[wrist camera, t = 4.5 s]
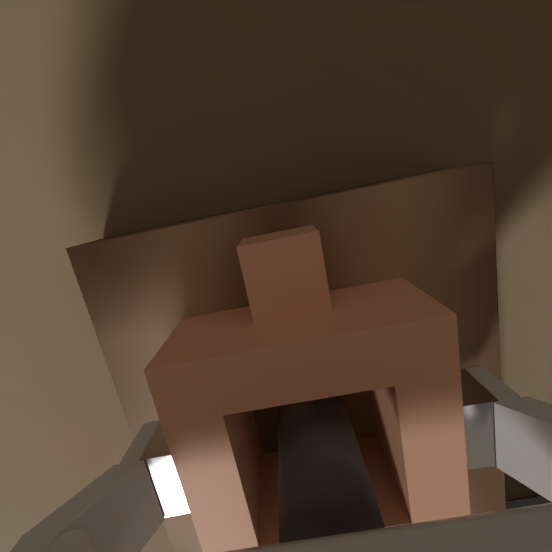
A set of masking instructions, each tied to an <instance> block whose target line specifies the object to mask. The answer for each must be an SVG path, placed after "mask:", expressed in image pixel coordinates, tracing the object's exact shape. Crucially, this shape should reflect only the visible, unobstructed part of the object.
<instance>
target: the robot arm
mask: <svg viewBox="0 0 552 552" xmlns="http://www.w3.org/2000/svg"><path fill="white" fill-rule="evenodd" d="M460 371H461V385H462V400H463V414H464V428H465V442H466V456H467V469H475V468H482V467H490V466H497V468H498V469H500V470H501V471H503V472H505V473H506V474H508V475H509V476H511V477H513V478H514V479H516V480H517V481H519V482H520V483H522V484H524V485H525V486H527V487H528V488H530V489H532V490H533V491H535V492H536V493H538V494H539V495H541V496H543V497H544V498H546V499H547V500H549V501H551V502H552V404H549V403H546V402H543V401H540V400H537V399H534V398H530V397H520V396H519V395H518V394H517V393H515V392H514V391H513V390H512V389H511V388H509V387H508V386H507V385H506V384H505V383H503V382H502V381H501V380H500V379H498V378H497V377H496V376H495V375H494V374H492V373H491V372H490V371H489V370H488V369H486V368H485V367H484V366H482V365H475V366H471V367H466V368H461V369H460ZM186 513H190V511H189V508H188V505H187V502H186V499H185V496H184V493H183V490H182V487H181V484H180V481H179V478H178V475H177V472H176V469H175V466H174V462H173V459H172V456H171V453H170V450H169V447H168V444H167V441H166V438H165V435H164V432H163V429H162V426H161V423H160V420H156V421H151V422H146V423H144V424H143V425H142V427H141V428H140V430H139V432H138V434H137V435H136V437H135V439H134V440H133V442H132V444H131V445H130V447H129V449H128V451H127V452H126V454H125V456H124V457H123V459H122V461H121V462H120V464H118V465H114V466H112V467H111V468H110V469H108V470H107V471H106V472H105V473H103V474H102V475H101V476H99V477H98V478H97V479H96V480H94V481H93V482H92V483H90V484H89V485H88V486H86V487H85V488H84V489H83V490H81V491H80V492H79V493H77V494H76V495H75V496H74V497H72V498H71V499H70V500H68V501H67V502H66V503H64V504H63V505H62V506H61V507H59V508H58V509H57V510H55V511H54V512H53V513H52V514H50V515H49V516H48V517H46V518H45V519H44V520H42V521H41V522H40V523H39V524H37V525H36V526H35V527H33V528H32V529H31V530H30V531H28V532H27V533H26V534H24V535H23V536H22V537H21V538H20V540H19V541H18V542H17V544H16V545H15V546H14V548H13V549H12V550H11V552H140V551H141V549H142V548H143V547H144V545H145V544H146V543H147V542H148V540H149V539H150V538H151V537H152V535H153V534H154V533H155V531H156V530H157V529H158V528H159V526H160V525H161V524H162V522H163V521H164V520H165V517H170V516H176V515H181V514H186ZM224 552H552V503H546V504H539V505H532V506H526V507H519V508H512V509H506V510H499V511H492V512H486V513H479V514H472V515H466V516H459V517H452V518H446V519H439V520H432V521H426V522H419V523H412V524H406V525H399V526H392V527H385V528H378V529H372V530H365V531H358V532H351V533H345V534H338V535H331V536H324V537H318V538H311V539H304V540H297V541H291V542H284V543H277V544H270V545H264V546H257V547H250V548H244V549H237V550H231V551H224Z"/></svg>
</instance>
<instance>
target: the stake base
mask: <svg viewBox="0 0 552 552" xmlns="http://www.w3.org/2000/svg"><path fill="white" fill-rule="evenodd" d="M309 225H313V226H314V227H316V228H317V229H318V230H319V233H320V239H321V245H322V251H323V257H324V263H325V269H326V275H327V281H328V287H329V291H332V290H337V289H343V288H348V287H353V286H359V285H364V284H369V283H375V282H380V281H385V280H391V279H396V278H401V277H402V278H404V279H405V280H407V281H408V282H410V283H411V284H413V285H414V286H416V287H417V288H419V289H420V290H422V291H423V292H425V293H426V294H428V295H429V296H431V297H432V298H434V299H435V300H437V301H438V302H440V303H441V304H443V305H444V306H445V307H447V308H448V309H450V310H451V311H453V312H454V313H456V315H457V329H458V343H459V357H460V369H461V368H466V367H471V366H475V365H482V366H484V367H485V368H486V369H488V370H489V371H490V372H491V373H492V374H494V375H495V376H496V377H497V378H498V379H500V380H501V371H500V344H499V318H498V292H497V266H496V240H495V213H494V187H493V162H489V163H482V164H475V165H468V166H461V167H455V168H449V169H444V170H440V171H435V172H430V173H425V174H420V175H415V176H410V177H405V178H400V179H395V180H390V181H385V182H380V183H375V184H371V185H366V186H361V187H356V188H351V189H346V190H341V191H336V192H331V193H326V194H321V195H316V196H311V197H306V198H302V199H297V200H292V201H287V202H282V203H277V204H272V205H267V206H262V207H257V208H252V209H247V210H242V211H237V212H232V213H228V214H223V215H218V216H213V217H208V218H203V219H198V220H193V221H188V222H183V223H178V224H173V225H168V226H163V227H159V228H154V229H149V230H144V231H139V232H134V233H129V234H124V235H119V236H114V237H109V238H104V239H100V240H96V241H92V242H89V243H85V244H81V245H77V246H73V247H69V248H66V250H67V253H68V255H69V258H70V261H71V264H72V267H73V270H74V272H75V275H76V278H77V281H78V284H79V286H80V289H81V292H82V295H83V298H84V301H85V303H86V306H87V309H88V312H89V315H90V317H91V320H92V323H93V326H94V329H95V331H96V334H97V337H98V340H99V343H100V346H101V348H102V351H103V354H104V357H105V360H106V362H107V365H108V368H109V371H110V374H111V377H112V379H113V382H114V385H115V388H116V391H117V393H118V396H119V399H120V402H121V405H122V407H123V410H124V413H125V416H126V419H127V422H128V424H129V427H130V430H131V433H132V436H133V438H134V439H135V437H136V435H137V434H138V432H139V430H140V428H141V427H142V425H143V424H144V423H146V422H151V421H156V420H159V417H158V414H157V411H156V408H155V404H154V401H153V398H152V395H151V392H150V389H149V386H148V383H147V380H146V377H145V374H144V371H143V370H144V369H145V368H146V366H147V365H148V364H149V362H150V361H151V360H152V358H153V357H154V356H155V354H156V353H157V352H158V350H159V349H160V348H161V346H162V345H163V344H164V342H165V341H166V340H167V338H168V337H169V336H170V334H171V333H172V332H173V330H174V329H175V328H176V327H177V325H178V324H179V323H180V321H181V320H182V319H183V318H188V317H194V316H199V315H204V314H210V313H215V312H220V311H226V310H231V309H236V308H242V307H247V306H250V305H249V300H248V296H247V291H246V287H245V283H244V278H243V274H242V270H241V265H240V261H239V257H238V252H237V248H236V247H237V245H238V244H239V243H240V241H241V240H242V239H243V238H248V237H253V236H258V235H263V234H268V233H274V232H279V231H284V230H289V229H294V228H299V227H304V226H309ZM253 414H254V418H255V422H256V426H257V430H258V434H259V438H260V442H261V446H262V450H263V454H265V453H271V452H277V451H278V483H279V543H284V542H291V541H297V540H304V539H311V538H318V537H324V536H331V535H338V534H345V533H351V532H358V531H365V530H372V529H378V528H385V526H384V522H383V519H382V516H381V513H380V510H379V506H378V503H377V500H376V497H375V494H374V491H373V488H372V485H371V482H370V479H369V476H368V473H367V469H366V466H365V463H364V460H363V457H362V454H361V451H360V448H359V445H358V442H357V439H356V438H363V437H369V436H375V435H376V431H375V424H374V417H373V410H372V403H371V397H370V390H369V391H363V392H357V393H352V394H346V395H340V396H334V397H328V398H322V399H317V400H311V401H305V402H299V403H293V404H287V405H282V406H276V407H270V408H264V409H258V410H253ZM467 470H468V485H469V499H470V513H471V515H472V514H479V513H486V512H492V511H499V510H506V502H505V476H504V472H503V471H501V470H500V469H498V468H497V466H490V467H482V468H475V469H467ZM163 523H164V526H165V529H166V531H167V534H168V537H169V540H170V543H171V545H172V548H173V551H174V552H203V551H202V548H201V545H200V542H199V539H198V536H197V533H196V530H195V527H194V524H193V520H192V517H191V514H190V513H186V514H181V515H176V516H170V517H165V520H164V521H163Z"/></svg>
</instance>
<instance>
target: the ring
mask: <svg viewBox="0 0 552 552" xmlns="http://www.w3.org/2000/svg"><path fill="white" fill-rule="evenodd" d="M236 248H237V252H238V257H239V261H240V265H241V270H242V274H243V278H244V283H245V287H246V291H247V296H248V300H249V305H250V306H247V307H242V308H236V309H231V310H226V311H220V312H215V313H210V314H204V315H199V316H194V317H188V318H183V319H182V320H181V321H180V323H179V324H178V325H177V327H176V328H175V329H174V330H173V332H172V333H171V334H170V336H169V337H168V338H167V340H166V341H165V342H164V344H163V345H162V346H161V348H160V349H159V350H158V352H157V353H156V354H155V356H154V357H153V358H152V360H151V361H150V362H149V364H148V365H147V366H146V368H145V369H144V370H143V371H144V374H145V377H146V380H147V383H148V386H149V389H150V392H151V395H152V398H153V401H154V404H155V408H156V411H157V414H158V417H159V420H160V423H161V426H162V429H163V432H164V435H165V438H166V441H167V444H168V447H169V450H170V453H171V456H172V459H173V462H174V466H175V469H176V472H177V475H178V478H179V481H180V484H181V487H182V490H183V493H184V496H185V499H186V502H187V505H188V508H189V511H190V514H191V517H192V520H193V524H194V527H195V530H196V533H197V536H198V539H199V542H200V545H201V548H202V551H203V552H224V551H231V550H237V549H244V548H250V547H257V546H264V545H270V544H277V543H279V483H278V451H277V452H271V453H265V454H263V450H262V446H261V442H260V438H259V434H258V430H257V426H256V422H255V418H254V414H253V410H258V409H264V408H270V407H276V406H282V405H287V404H293V403H299V402H305V401H311V400H317V399H322V398H328V397H334V396H340V395H346V394H352V393H357V392H363V391H369V390H370V397H371V403H372V410H373V417H374V424H375V431H376V435H375V436H369V437H363V438H356V439H357V442H358V445H359V448H360V451H361V454H362V457H363V460H364V463H365V466H366V469H367V473H368V476H369V479H370V482H371V485H372V488H373V491H374V494H375V497H376V500H377V503H378V506H379V510H380V513H381V516H382V519H383V522H384V526H385V527H392V526H399V525H406V524H412V523H419V522H426V521H432V520H439V519H446V518H452V517H459V516H466V515H471V513H470V499H469V485H468V470H467V456H466V442H465V428H464V414H463V400H462V385H461V371H460V357H459V343H458V329H457V315H456V313H454V312H453V311H451V310H450V309H448V308H447V307H445V306H444V305H443V304H441V303H440V302H438V301H437V300H435V299H434V298H432V297H431V296H429V295H428V294H426V293H425V292H423V291H422V290H420V289H419V288H417V287H416V286H414V285H413V284H411V283H410V282H408V281H407V280H405V279H404V278H402V277H401V278H396V279H391V280H385V281H380V282H375V283H369V284H364V285H359V286H353V287H348V288H343V289H337V290H332V291H329V287H328V281H327V275H326V269H325V263H324V257H323V251H322V245H321V239H320V233H319V230H318V229H317V228H316V227H314V226H313V225H309V226H304V227H299V228H294V229H289V230H284V231H279V232H274V233H268V234H263V235H258V236H253V237H248V238H243V239H242V240H241V241H240V243H239V244H238V245H237V247H236Z"/></svg>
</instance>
